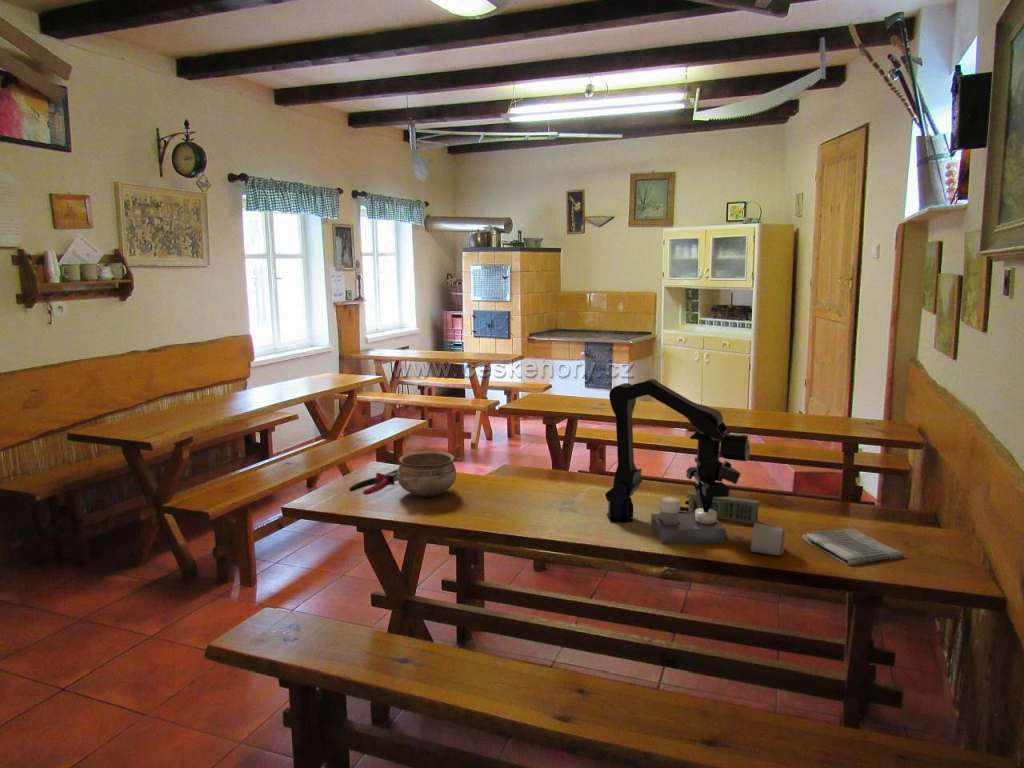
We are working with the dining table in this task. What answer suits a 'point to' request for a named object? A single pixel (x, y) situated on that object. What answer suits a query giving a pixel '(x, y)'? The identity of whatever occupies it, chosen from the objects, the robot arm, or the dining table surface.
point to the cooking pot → (426, 473)
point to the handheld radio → (726, 508)
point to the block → (767, 539)
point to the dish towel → (851, 546)
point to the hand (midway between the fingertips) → (705, 511)
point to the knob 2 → (705, 516)
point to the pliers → (379, 478)
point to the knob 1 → (669, 511)
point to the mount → (687, 531)
